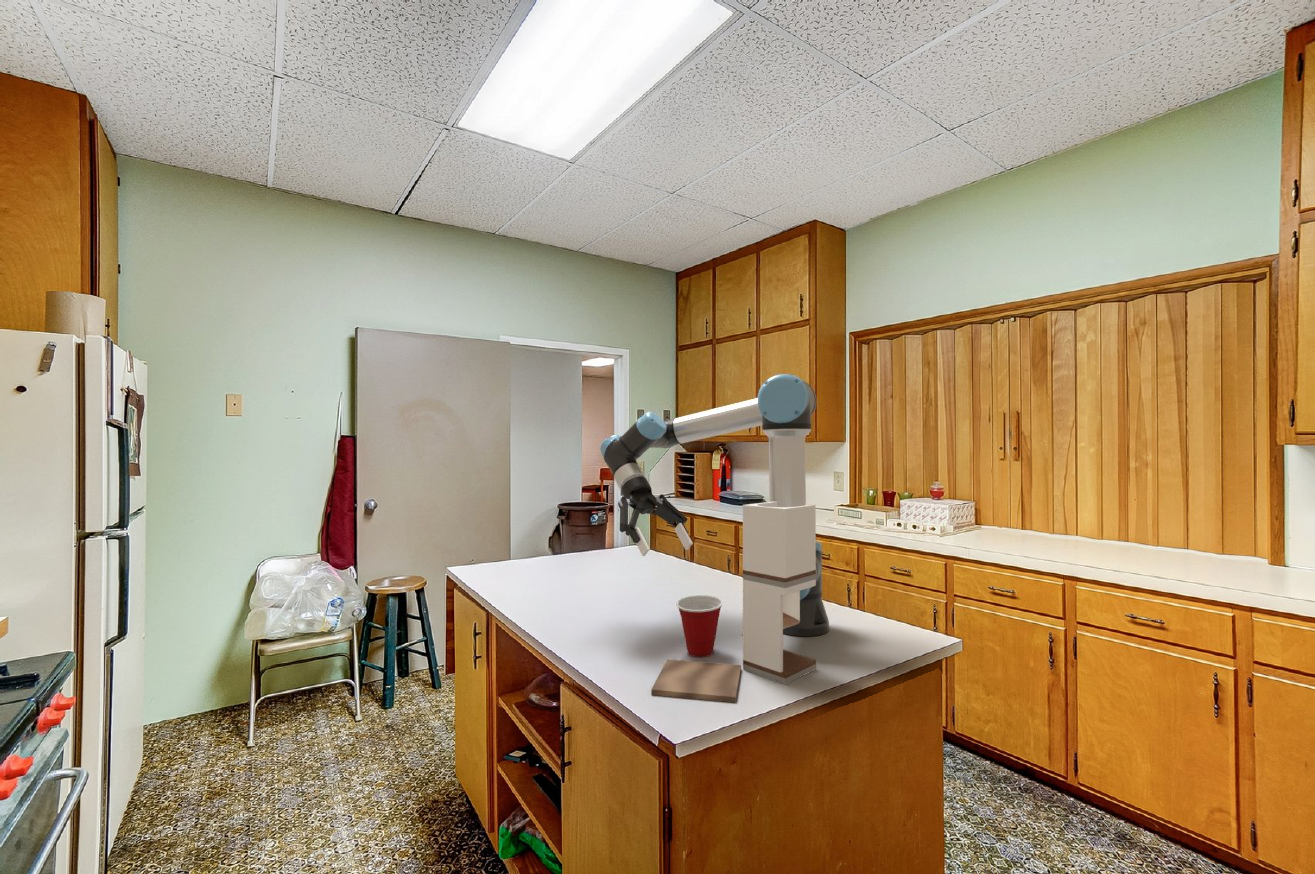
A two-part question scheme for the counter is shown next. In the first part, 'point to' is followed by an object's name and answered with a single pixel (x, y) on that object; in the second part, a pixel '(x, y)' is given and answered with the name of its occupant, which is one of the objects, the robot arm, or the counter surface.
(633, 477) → the robot arm
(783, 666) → the white dispenser
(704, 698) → the walnut board
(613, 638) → the counter surface
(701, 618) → the plastic cup
